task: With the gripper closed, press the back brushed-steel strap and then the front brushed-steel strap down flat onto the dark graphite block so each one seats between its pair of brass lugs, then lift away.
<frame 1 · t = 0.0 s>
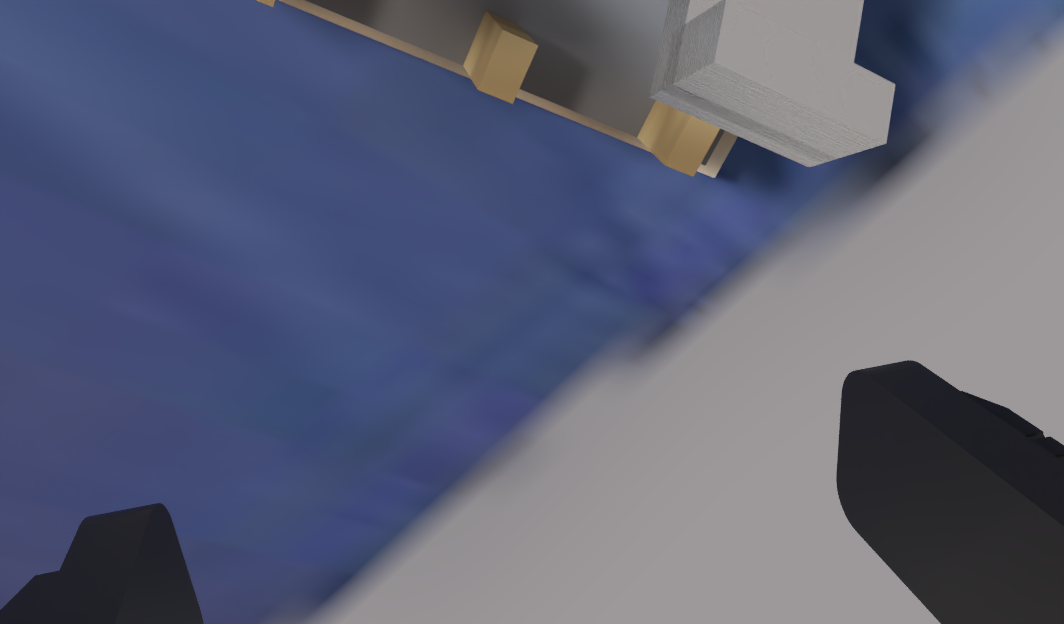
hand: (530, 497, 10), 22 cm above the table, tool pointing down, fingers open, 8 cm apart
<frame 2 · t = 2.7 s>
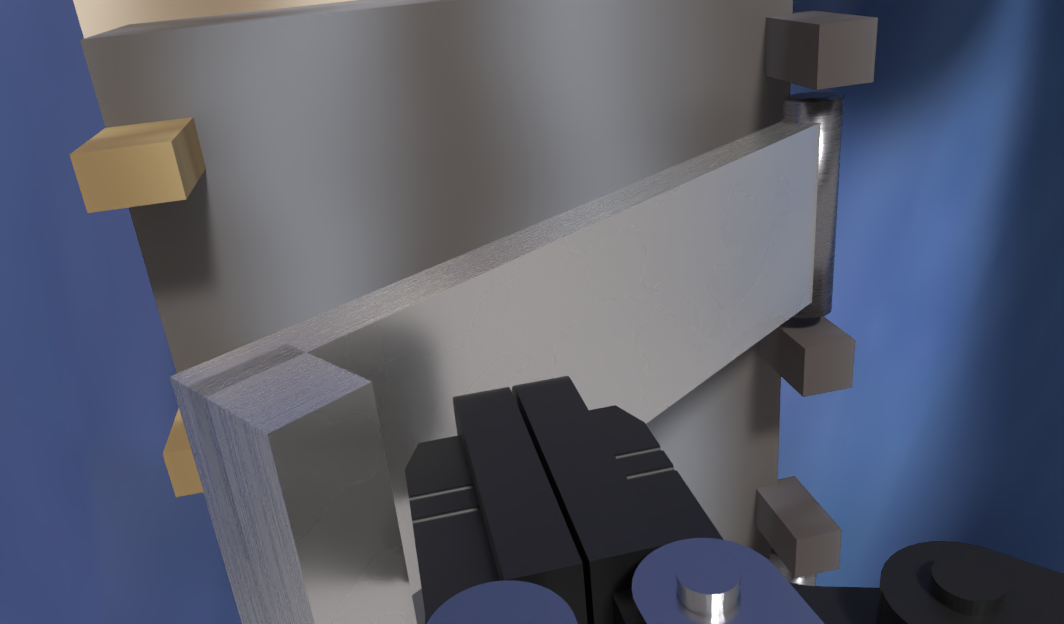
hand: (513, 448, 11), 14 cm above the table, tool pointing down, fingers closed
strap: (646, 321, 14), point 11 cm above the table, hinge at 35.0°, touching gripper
heat sink base: (478, 366, 26), on the table
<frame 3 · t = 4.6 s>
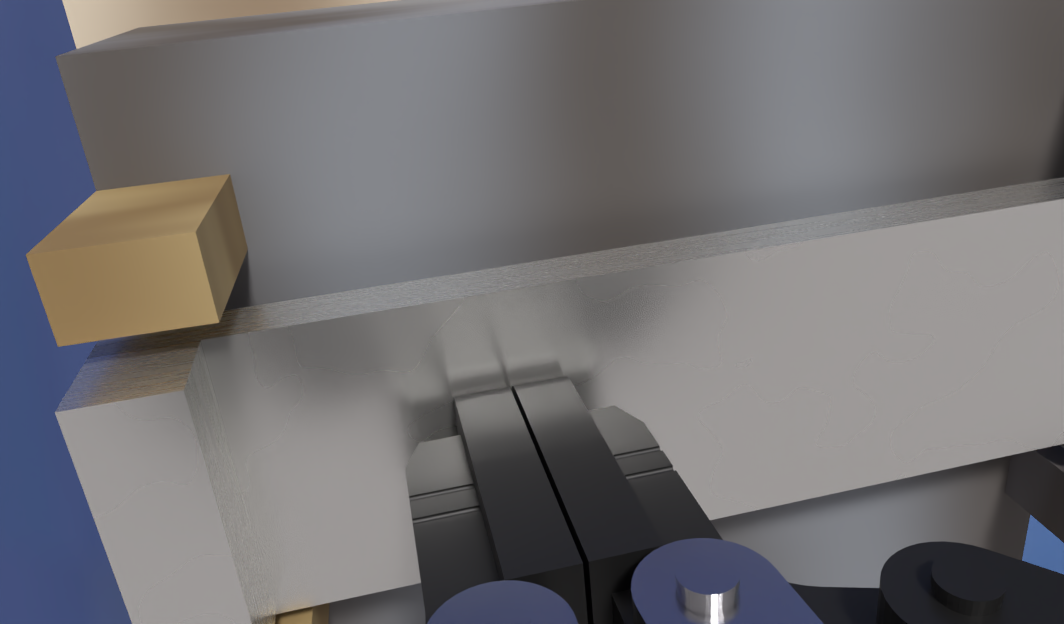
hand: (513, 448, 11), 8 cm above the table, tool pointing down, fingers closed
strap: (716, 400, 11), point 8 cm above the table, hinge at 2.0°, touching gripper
heat sink base: (584, 464, 21), on the table
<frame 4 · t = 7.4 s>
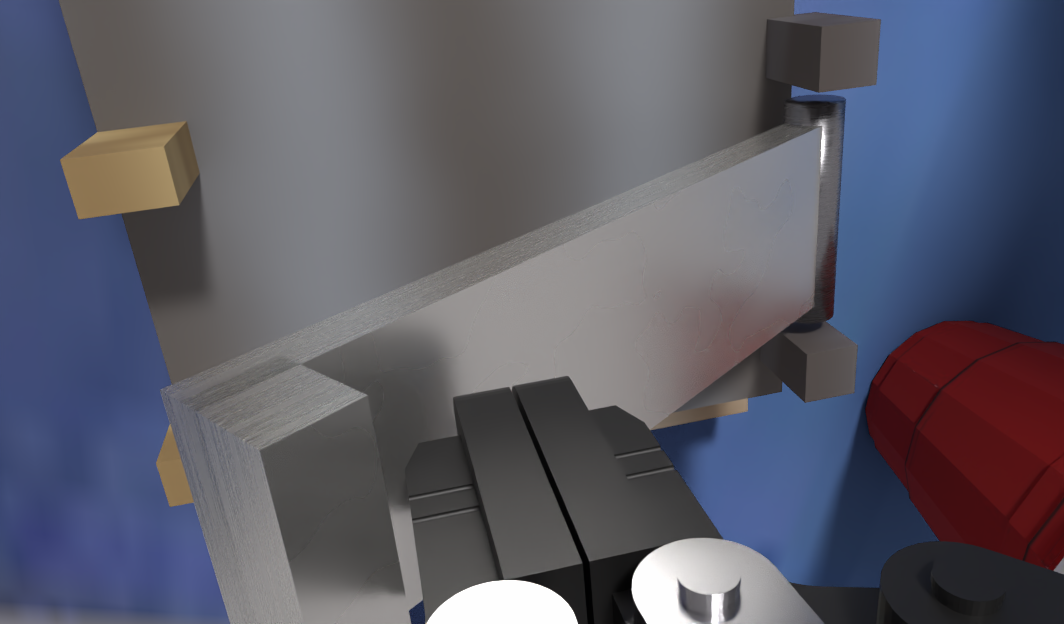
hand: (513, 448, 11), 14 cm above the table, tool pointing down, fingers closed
plastic cup: (928, 388, 30), on the table
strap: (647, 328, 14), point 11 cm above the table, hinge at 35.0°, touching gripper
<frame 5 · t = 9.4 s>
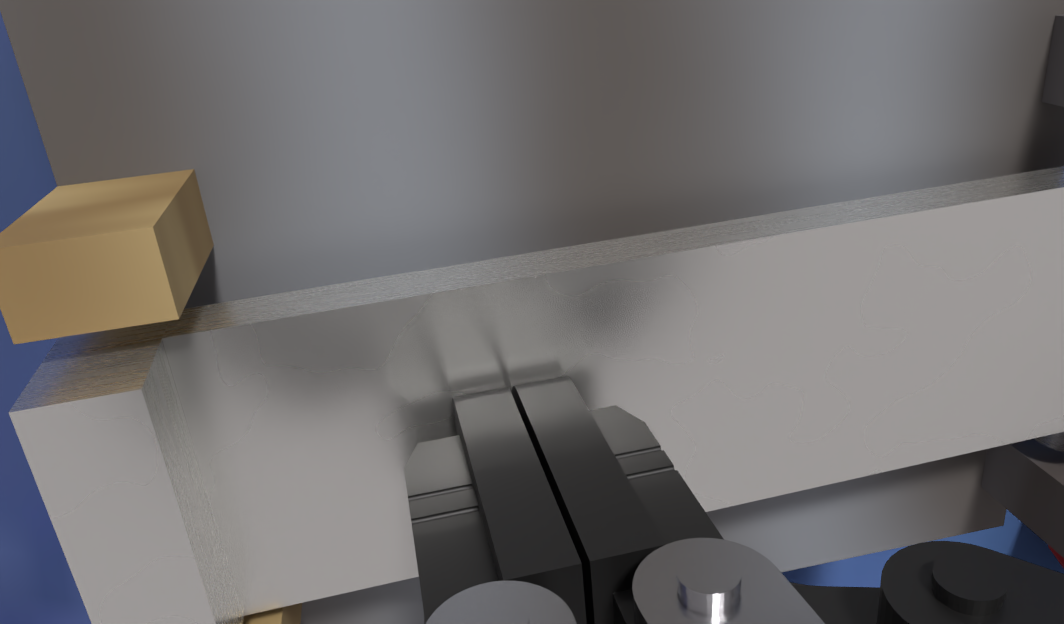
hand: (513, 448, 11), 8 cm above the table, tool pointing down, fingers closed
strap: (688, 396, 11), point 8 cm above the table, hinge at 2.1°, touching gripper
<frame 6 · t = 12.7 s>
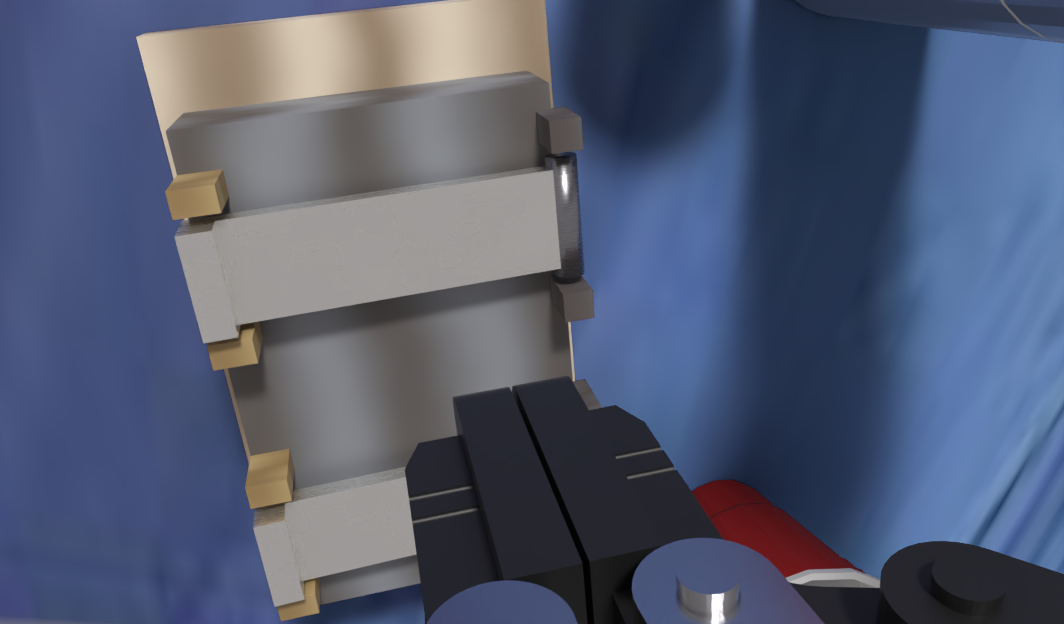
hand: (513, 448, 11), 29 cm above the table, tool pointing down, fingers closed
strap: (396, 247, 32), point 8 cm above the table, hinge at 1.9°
plastic cup: (710, 517, 50), on the table
heat sink base: (398, 317, 41), on the table
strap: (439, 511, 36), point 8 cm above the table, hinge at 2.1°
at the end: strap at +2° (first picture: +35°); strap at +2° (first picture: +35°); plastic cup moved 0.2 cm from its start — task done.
